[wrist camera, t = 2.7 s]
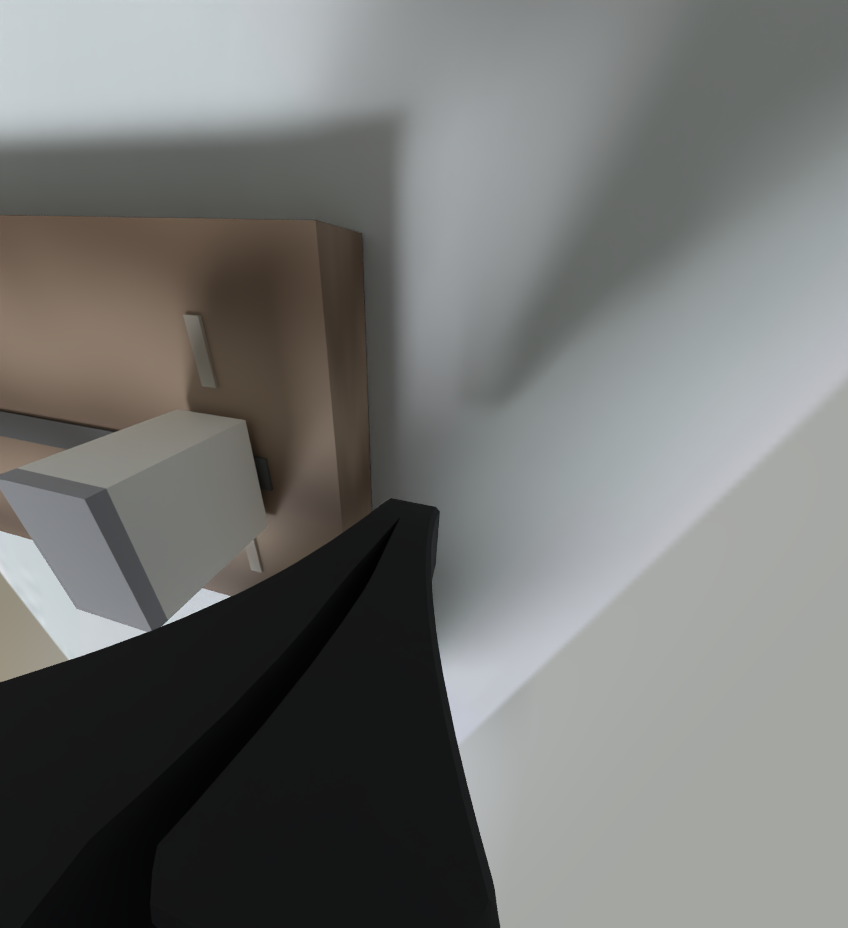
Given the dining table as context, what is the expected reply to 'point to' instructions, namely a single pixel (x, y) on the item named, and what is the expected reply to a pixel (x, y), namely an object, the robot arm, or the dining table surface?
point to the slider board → (195, 355)
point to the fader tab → (142, 513)
